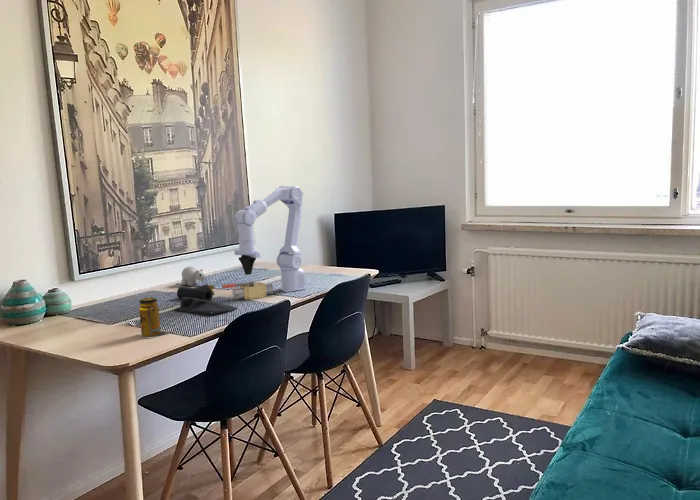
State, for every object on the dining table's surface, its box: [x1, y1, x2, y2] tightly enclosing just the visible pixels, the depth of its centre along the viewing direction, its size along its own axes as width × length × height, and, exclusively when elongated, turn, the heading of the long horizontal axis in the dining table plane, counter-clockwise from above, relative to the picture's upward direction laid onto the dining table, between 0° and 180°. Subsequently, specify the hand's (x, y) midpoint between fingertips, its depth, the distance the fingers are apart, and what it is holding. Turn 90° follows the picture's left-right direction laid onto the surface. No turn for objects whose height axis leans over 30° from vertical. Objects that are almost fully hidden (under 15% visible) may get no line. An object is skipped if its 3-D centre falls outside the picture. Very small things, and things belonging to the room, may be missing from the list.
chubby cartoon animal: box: [181, 266, 207, 287], centre depth 271 cm, size 7×12×8 cm, turn 66°
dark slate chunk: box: [174, 297, 238, 316], centre depth 226 cm, size 15×22×5 cm
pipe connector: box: [176, 283, 215, 301], centre depth 246 cm, size 12×5×15 cm
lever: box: [221, 280, 257, 289], centre depth 242 cm, size 13×3×1 cm, turn 111°
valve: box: [231, 281, 274, 301], centre depth 244 cm, size 16×6×5 cm, turn 120°
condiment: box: [137, 296, 170, 339], centre depth 195 cm, size 7×8×12 cm
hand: (248, 274), depth 238 cm, fingers closed
